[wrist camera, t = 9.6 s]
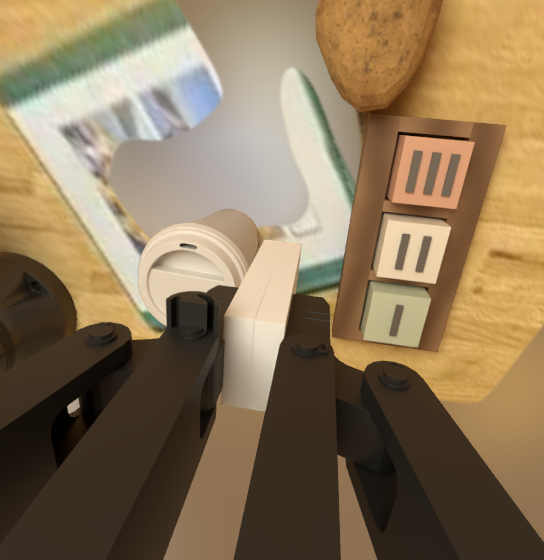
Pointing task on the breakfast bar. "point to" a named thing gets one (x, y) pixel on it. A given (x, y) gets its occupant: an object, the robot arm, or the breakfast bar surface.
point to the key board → (373, 202)
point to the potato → (374, 46)
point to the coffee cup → (196, 258)
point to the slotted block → (394, 313)
